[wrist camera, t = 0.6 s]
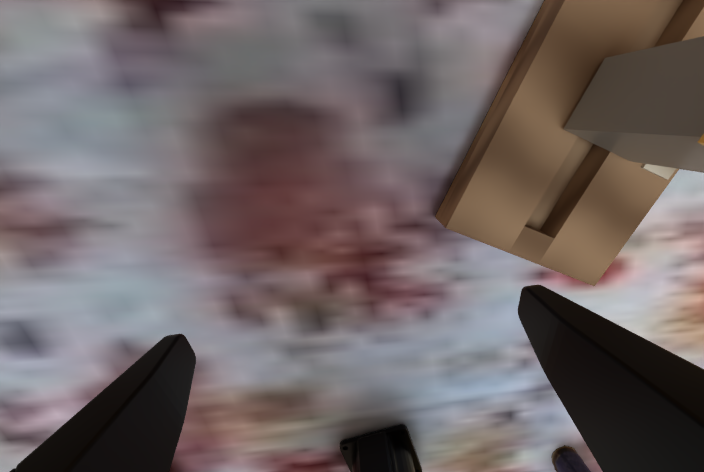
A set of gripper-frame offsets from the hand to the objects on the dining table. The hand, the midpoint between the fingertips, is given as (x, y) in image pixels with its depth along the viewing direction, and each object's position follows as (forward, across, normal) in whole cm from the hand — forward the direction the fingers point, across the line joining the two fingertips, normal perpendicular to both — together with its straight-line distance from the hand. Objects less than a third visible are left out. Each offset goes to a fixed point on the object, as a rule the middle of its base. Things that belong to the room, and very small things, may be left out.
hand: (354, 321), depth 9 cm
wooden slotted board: (+15, -17, -1) cm, 23 cm away
